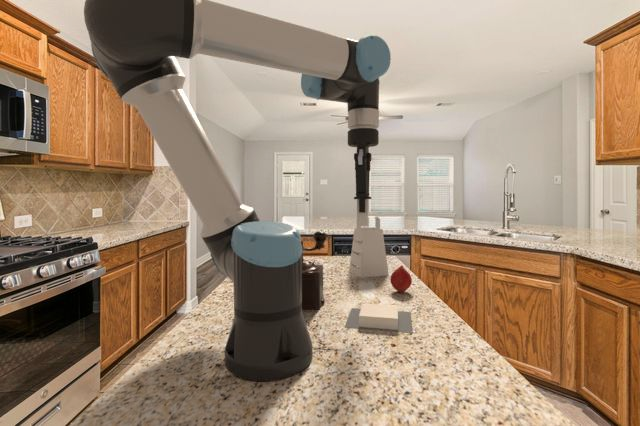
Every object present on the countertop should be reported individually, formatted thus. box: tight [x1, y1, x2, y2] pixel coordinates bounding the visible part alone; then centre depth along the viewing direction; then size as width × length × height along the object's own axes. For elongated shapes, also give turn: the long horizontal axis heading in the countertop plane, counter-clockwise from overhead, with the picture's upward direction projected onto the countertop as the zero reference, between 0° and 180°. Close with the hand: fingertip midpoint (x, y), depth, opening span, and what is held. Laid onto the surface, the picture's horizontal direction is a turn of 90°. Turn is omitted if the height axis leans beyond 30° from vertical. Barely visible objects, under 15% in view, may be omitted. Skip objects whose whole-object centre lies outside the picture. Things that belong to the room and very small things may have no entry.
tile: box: [359, 303, 399, 330], centre depth 74 cm, size 2×8×8 cm
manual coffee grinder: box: [301, 230, 328, 311], centre depth 89 cm, size 16×11×18 cm
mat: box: [343, 307, 414, 334], centre depth 76 cm, size 12×14×1 cm
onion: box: [390, 265, 413, 294], centre depth 96 cm, size 6×6×8 cm
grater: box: [348, 215, 390, 278], centre depth 119 cm, size 10×10×20 cm
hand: (362, 225), depth 84 cm, fingers closed
